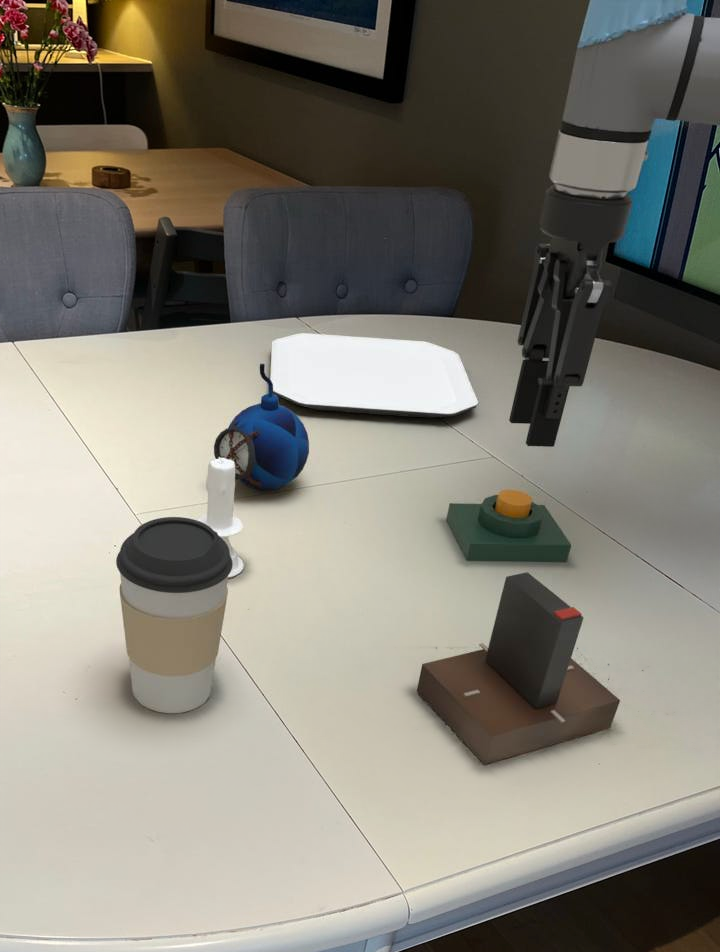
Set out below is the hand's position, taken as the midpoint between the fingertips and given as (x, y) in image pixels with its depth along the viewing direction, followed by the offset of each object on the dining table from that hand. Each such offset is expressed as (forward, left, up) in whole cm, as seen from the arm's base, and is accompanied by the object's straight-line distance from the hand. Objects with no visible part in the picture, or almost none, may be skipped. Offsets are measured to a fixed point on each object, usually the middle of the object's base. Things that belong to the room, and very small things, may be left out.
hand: (531, 432), depth 101 cm
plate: (+7, -46, -13) cm, 48 cm away
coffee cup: (+37, +26, -13) cm, 47 cm away
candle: (+32, +6, -13) cm, 35 cm away
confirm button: (0, 0, -9) cm, 9 cm away
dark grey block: (+8, +29, -10) cm, 32 cm away
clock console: (+8, +29, -13) cm, 33 cm away
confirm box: (0, 0, -13) cm, 13 cm away
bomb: (+26, -12, -13) cm, 31 cm away
